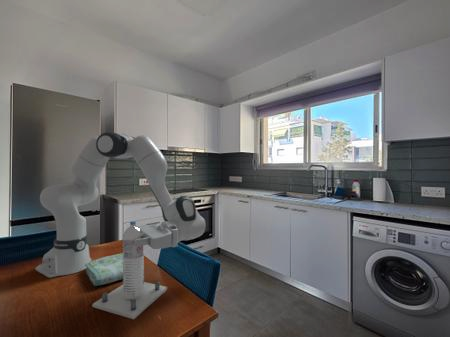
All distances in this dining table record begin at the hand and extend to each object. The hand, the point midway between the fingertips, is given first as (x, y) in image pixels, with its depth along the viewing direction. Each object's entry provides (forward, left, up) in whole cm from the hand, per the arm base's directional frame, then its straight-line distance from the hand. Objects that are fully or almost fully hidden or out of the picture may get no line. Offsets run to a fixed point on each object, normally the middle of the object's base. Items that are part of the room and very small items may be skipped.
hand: (130, 239), depth 75 cm
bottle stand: (0, +1, -21) cm, 21 cm away
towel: (-21, +13, -21) cm, 33 cm away
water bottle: (+2, 0, -19) cm, 19 cm away
